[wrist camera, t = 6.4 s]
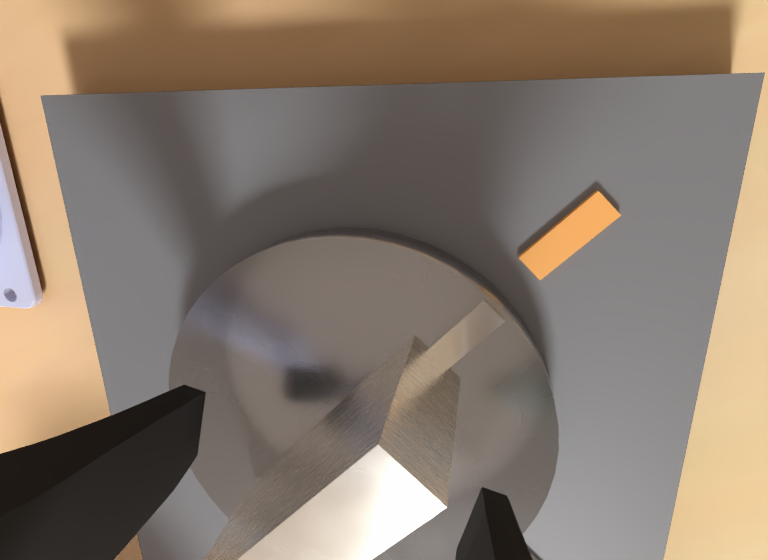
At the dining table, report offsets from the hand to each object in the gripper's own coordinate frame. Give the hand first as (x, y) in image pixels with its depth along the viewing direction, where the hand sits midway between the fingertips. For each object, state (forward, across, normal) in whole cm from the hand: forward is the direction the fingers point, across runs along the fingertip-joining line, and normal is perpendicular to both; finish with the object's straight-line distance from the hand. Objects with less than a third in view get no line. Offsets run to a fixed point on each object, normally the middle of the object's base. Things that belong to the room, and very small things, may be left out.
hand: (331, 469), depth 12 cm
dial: (+3, 0, 0) cm, 3 cm away
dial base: (+4, 0, 0) cm, 4 cm away
